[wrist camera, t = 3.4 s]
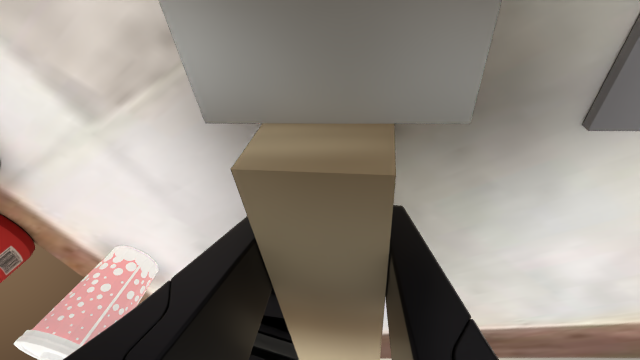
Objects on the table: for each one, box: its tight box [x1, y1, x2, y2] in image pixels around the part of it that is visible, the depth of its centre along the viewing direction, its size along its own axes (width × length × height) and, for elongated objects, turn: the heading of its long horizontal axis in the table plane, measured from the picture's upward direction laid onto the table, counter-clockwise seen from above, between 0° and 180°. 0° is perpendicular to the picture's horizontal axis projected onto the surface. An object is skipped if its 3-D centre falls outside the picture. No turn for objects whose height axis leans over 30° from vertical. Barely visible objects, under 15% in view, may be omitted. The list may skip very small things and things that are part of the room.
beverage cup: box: [14, 245, 158, 360], centre depth 23 cm, size 6×6×14 cm
